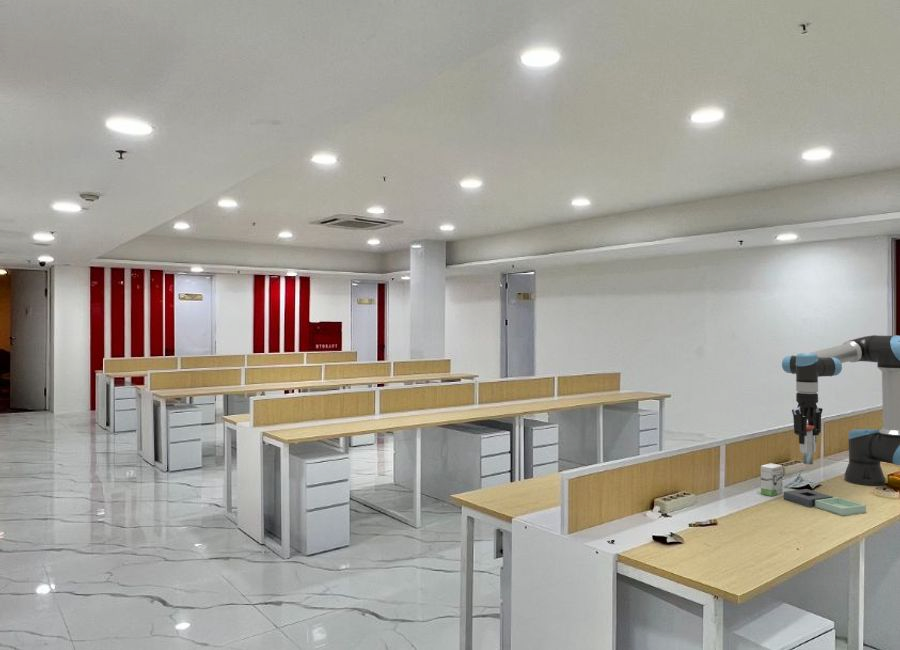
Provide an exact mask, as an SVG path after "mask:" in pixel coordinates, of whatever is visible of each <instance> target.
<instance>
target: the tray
mask: <svg viewBox="0 0 900 650" xmlns="http://www.w3.org/2000/svg"><path fill="white" fill-rule="evenodd" d="M814 508H816V509H818V510H822V511H825V512H828V513H831V514H835V515H838V516H840V517H846V516H848V517H849V516H852V515H854V514H855V515H860V514H859V513H862V514H866V513H867V505H866V504H863V503H860V502H855V501H853V500H848V499H845V498H842V497H833V498H828V499H820V500H815V507H814ZM855 515H854V516H855Z"/></svg>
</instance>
